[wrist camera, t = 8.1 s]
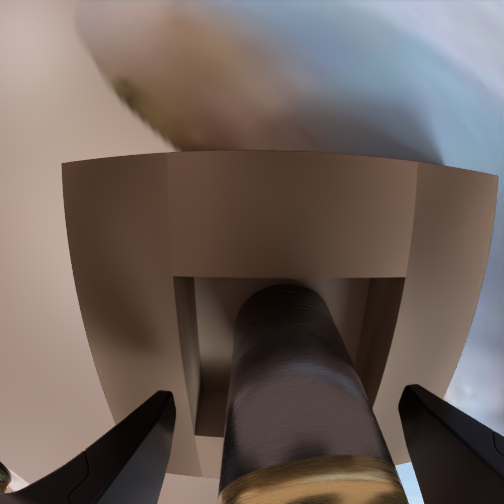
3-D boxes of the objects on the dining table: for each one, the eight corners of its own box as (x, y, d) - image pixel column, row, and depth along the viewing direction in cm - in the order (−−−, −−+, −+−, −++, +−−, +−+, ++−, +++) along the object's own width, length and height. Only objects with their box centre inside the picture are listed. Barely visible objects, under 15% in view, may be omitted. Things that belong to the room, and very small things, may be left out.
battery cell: (336, 283, 12) (441, 475, 4) (325, 364, 13) (376, 546, 5) (234, 283, 12) (204, 503, 4) (236, 365, 13) (221, 560, 5)
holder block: (446, 168, 11) (498, 176, 8) (391, 419, 15) (409, 461, 12) (109, 159, 11) (61, 163, 8) (150, 421, 15) (134, 467, 12)
